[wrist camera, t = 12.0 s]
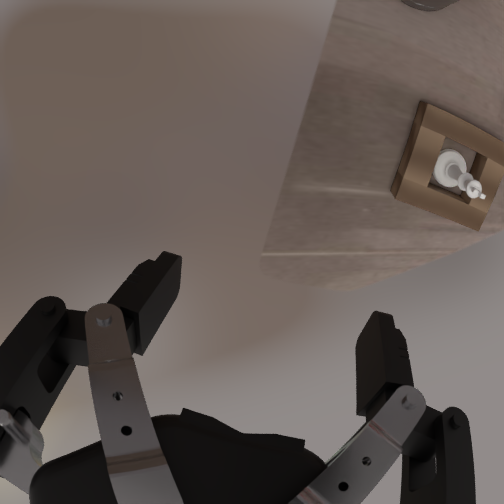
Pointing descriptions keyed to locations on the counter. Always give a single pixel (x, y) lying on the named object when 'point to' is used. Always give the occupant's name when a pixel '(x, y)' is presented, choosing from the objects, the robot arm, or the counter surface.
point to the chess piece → (456, 173)
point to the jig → (424, 160)
